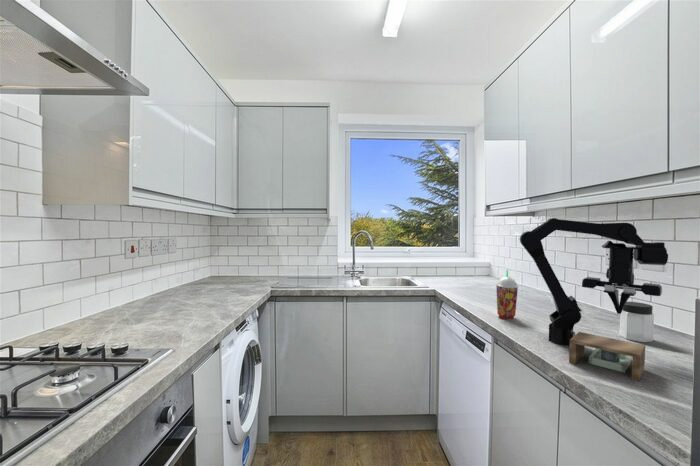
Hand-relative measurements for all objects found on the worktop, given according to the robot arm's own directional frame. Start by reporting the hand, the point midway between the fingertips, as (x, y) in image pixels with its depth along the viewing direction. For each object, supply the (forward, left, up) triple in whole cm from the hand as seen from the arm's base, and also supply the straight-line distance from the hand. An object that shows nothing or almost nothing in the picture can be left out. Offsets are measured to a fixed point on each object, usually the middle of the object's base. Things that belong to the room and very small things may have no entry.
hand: (619, 313), depth 104 cm
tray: (0, -13, -12) cm, 18 cm away
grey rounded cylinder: (0, -11, -11) cm, 16 cm away
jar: (+2, +21, -12) cm, 24 cm away
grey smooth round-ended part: (0, -17, -11) cm, 20 cm away
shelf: (0, -18, -12) cm, 22 cm away
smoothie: (-39, +13, -12) cm, 43 cm away
